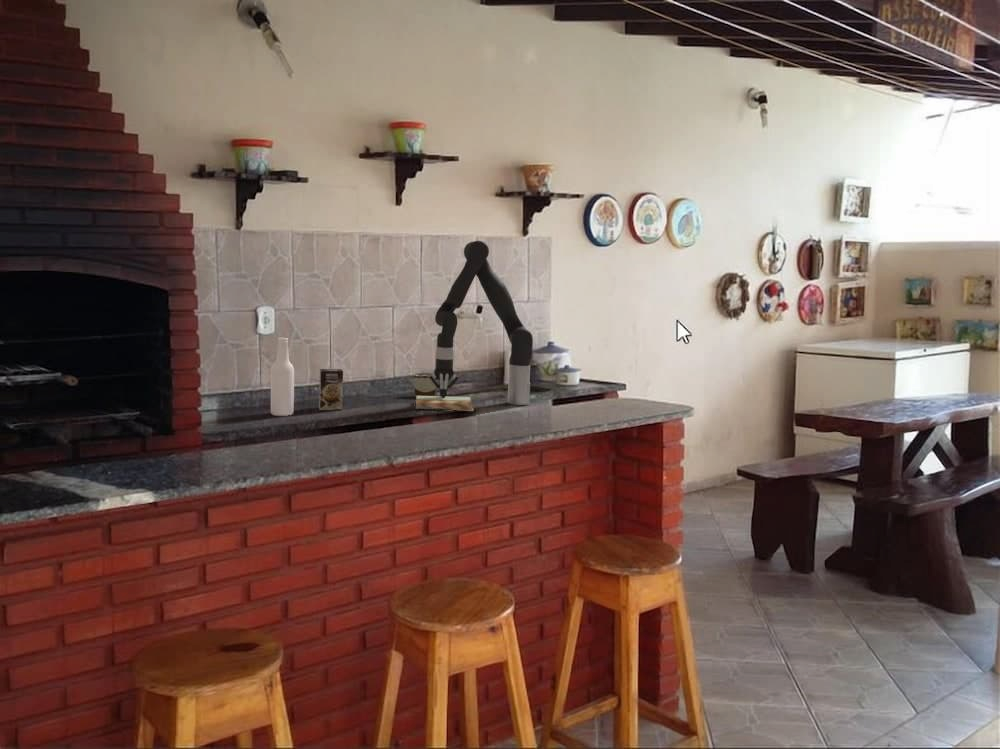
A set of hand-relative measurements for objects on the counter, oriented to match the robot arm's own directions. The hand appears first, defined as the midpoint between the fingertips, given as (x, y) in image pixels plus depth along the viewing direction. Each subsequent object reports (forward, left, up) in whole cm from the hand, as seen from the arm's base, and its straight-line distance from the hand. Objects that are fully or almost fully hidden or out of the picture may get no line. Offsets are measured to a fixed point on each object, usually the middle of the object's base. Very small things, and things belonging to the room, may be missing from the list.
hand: (443, 397), depth 403 cm
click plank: (0, +2, -2) cm, 3 cm away
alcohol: (+64, +29, -3) cm, 70 cm away
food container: (+7, -19, -3) cm, 20 cm away
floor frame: (0, +5, -3) cm, 6 cm away
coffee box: (+46, +16, -3) cm, 49 cm away
